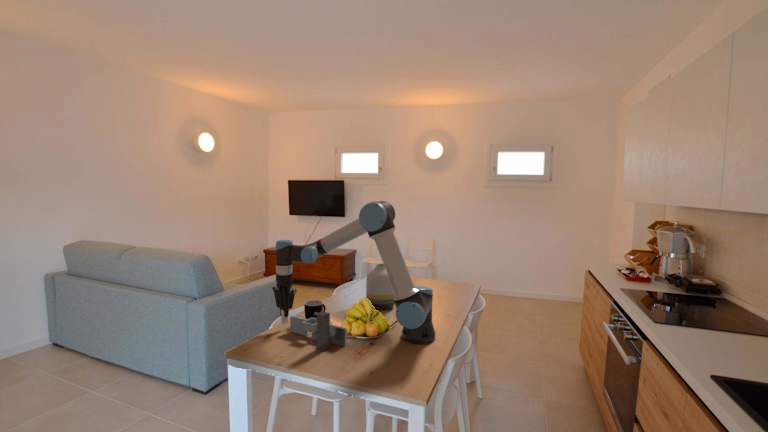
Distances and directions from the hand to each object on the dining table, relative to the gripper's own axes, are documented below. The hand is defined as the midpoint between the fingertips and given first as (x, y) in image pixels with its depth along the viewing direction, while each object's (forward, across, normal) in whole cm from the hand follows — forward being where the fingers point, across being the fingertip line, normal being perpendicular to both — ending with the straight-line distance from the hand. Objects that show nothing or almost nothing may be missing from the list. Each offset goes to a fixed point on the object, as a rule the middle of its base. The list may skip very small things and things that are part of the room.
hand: (284, 323), depth 167 cm
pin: (+3, -28, +7) cm, 29 cm away
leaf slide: (+3, -12, 0) cm, 12 cm away
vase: (+4, -24, -52) cm, 57 cm away
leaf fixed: (+3, -26, 0) cm, 27 cm away
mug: (+4, -7, -15) cm, 17 cm away
